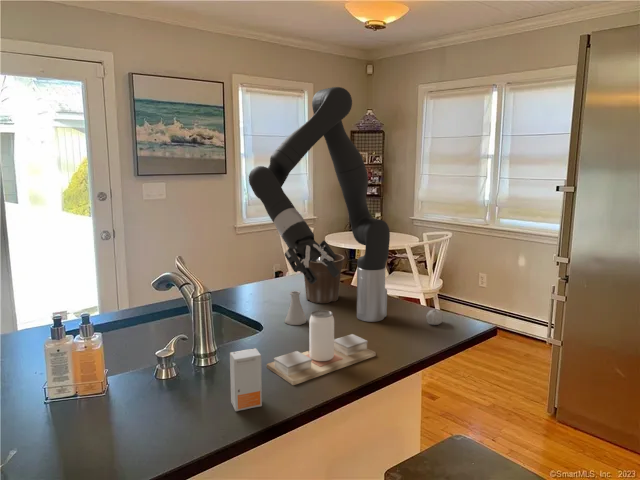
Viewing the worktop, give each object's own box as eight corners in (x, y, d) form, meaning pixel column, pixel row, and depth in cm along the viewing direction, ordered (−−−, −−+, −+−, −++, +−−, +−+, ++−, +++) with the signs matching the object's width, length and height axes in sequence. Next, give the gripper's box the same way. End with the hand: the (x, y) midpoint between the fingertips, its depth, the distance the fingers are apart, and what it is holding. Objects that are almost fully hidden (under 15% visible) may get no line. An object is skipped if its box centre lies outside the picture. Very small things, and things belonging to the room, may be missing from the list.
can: (331, 363, 122) (331, 318, 120) (306, 361, 124) (306, 316, 121) (336, 353, 128) (336, 310, 126) (312, 351, 130) (312, 308, 128)
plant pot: (344, 305, 172) (345, 261, 169) (299, 305, 172) (299, 261, 169) (343, 292, 188) (343, 252, 185) (302, 292, 188) (301, 252, 185)
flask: (280, 324, 154) (280, 294, 152) (290, 317, 160) (289, 288, 158) (301, 327, 151) (300, 296, 149) (310, 319, 158) (310, 290, 156)
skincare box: (235, 412, 102) (233, 359, 99) (230, 403, 105) (228, 352, 103) (263, 406, 104) (261, 354, 102) (257, 397, 108) (256, 347, 106)
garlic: (436, 328, 149) (436, 312, 149) (421, 324, 153) (422, 308, 153) (447, 324, 153) (447, 308, 152) (433, 319, 157) (433, 304, 156)
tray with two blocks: (346, 342, 139) (346, 330, 138) (375, 355, 130) (375, 343, 129) (266, 367, 123) (266, 354, 122) (293, 385, 113) (293, 371, 113)
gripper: (280, 223, 119) (314, 275, 114) (319, 217, 130) (352, 265, 124) (266, 241, 124) (298, 293, 118) (305, 234, 134) (336, 281, 129)
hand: (326, 278), depth 121 cm, fingers open, 8 cm apart
